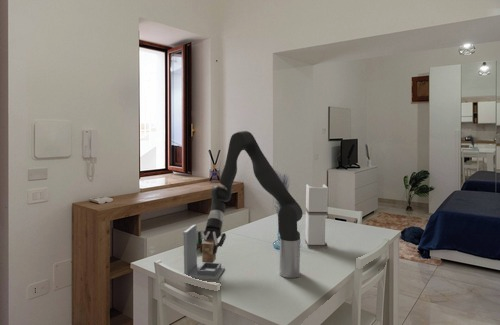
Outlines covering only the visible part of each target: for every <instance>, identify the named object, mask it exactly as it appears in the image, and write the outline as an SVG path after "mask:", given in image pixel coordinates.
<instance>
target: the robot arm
mask: <svg viewBox="0 0 500 325" xmlns="http://www.w3.org/2000/svg"><path fill="white" fill-rule="evenodd" d="M242 151H245V153H246V155H248V156H249V158H250V160H251V165H252V170H253V174H254V177H255V179H256V180H257V182H258V183H259V185H260V186H261V187H262V188H263V189H264V191H266V192H267V193H268V194H269V195H271V196H272V197H273V198H274V199H275V200H276V201H277V203H278V204H279V206H280V209H279V210H278V214H277V222H278V223H277V226H278V228H277V231H278V234H279V275H280V276H281V277H283V278H286V279H287V278H288V279H294V278H300V274H301V269H300V268H301V253H300V252H301V251H300V250H301V249H300V248H301V245H300V244H301V233H300V232H299V231H298V222H299V221H300V220H301V219H302V218H303V214H304V213H303V210H302V207H301V205H300V204H299V203H298V202H297V200H295V198H294V197H293V196H292V195H291V193H290V191H288V189H287V188H286V186H285V184H284V182H282V180H281V178H280V177H279V175H278V174H277V173H276V171H275V169H274V168H273V166H272V165H271V164H270V162H269V161H268V159H267V158H266V156H265V155H264V153H263V151H262V149H261V147H260V146H259V144H258V142H257V140H256V138H255V137H254V135H253V134H252V133H251V132H250V131H248V130H244V131H243V130H242V131H236V132H234V133H233V134H232V135H231V136H230V139H229V143H228V148H227V155H226V160H225V164H224V166H223V169H222V172H221V175H220V178H219V184H221V186H220V185H214V186H213V187H212V188H211V191H210V192H211V193H210V194H211V196H210V197H211V206H210V211H209V214H208V217H207V221H206V225H205V229H204V232H198V243H199V245H201V248H199V251H200V253H201V254H202V243H203V242H204V241H206V240H214V241H215V245H214V249H213V255H215V253H216V254H217V252H218V248H219V247H222V246H223V244H224V243H225V241H226V238H227V235H226V233H225V232H224V233H222V228H223V224H224V216H225V211H226V204H225V203H226V202H229V201H230V200H232V199H231V198H232V189H233V184H234V181H235V179H236V176H237V173H238V158H239V157H240V154H241V152H242ZM224 202H225V203H224ZM202 237H203V239H202ZM219 238H220V240H219V241H218V239H219Z"/></svg>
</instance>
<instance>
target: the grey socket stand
mask: <svg viewBox="0 0 500 325" xmlns="http://www.w3.org/2000/svg"><path fill="white" fill-rule="evenodd" d="M183 231H184V235H183V266H184V268H183V269H184V271H183V275H184V274H186V275H188V276H191V277H194V278H193V279H200V280H211V281H218V279H219V278H220V276H221V275H222V274H223V272H224V270H225V266H222V263H221V262H220V263H218V262H213V263H206V262H202V264H198V251H197V250H198V249H197V232H196V231H197V224H192V225H191V226H189V227H188V228H187V229H185V230H183Z"/></svg>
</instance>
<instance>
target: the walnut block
mask: <svg viewBox="0 0 500 325" xmlns="http://www.w3.org/2000/svg"><path fill="white" fill-rule="evenodd" d="M214 245H215V241H214V240H206V241H204V242H203V243H202V253H201V254H202V255H201V256H202V258H201V259H202V260H201V261H202V263H204V262H206V263H215V261H216V260H217V253H215V255H213V249H214Z"/></svg>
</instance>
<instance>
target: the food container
mask: <svg viewBox="0 0 500 325" xmlns="http://www.w3.org/2000/svg"><path fill="white" fill-rule="evenodd" d="M184 231H185V230H183V231H182V236H184ZM204 231H205V229H202V230H196V232H197V250H200V249H201V245H199V243H198V232H204ZM202 240H204V236H203V237H202Z"/></svg>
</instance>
